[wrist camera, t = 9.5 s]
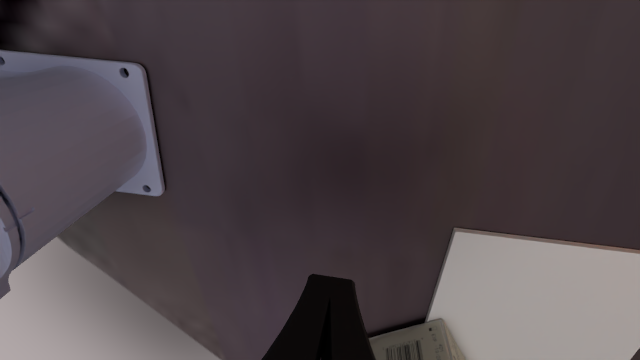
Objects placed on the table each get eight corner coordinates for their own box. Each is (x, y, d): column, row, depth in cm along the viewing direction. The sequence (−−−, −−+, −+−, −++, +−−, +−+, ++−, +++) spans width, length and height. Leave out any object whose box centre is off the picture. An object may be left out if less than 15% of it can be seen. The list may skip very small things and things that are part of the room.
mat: (409, 370, 27) (410, 375, 27) (453, 227, 21) (455, 231, 21) (592, 397, 27) (595, 403, 26) (700, 257, 20) (706, 262, 20)
